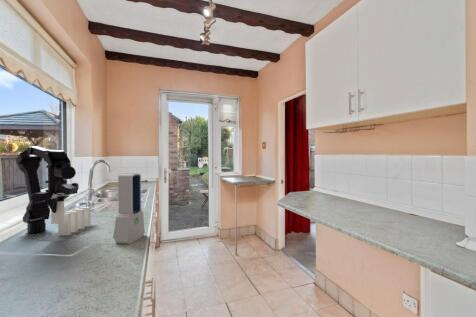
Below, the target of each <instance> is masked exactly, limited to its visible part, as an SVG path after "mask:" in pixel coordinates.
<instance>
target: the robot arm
mask: <svg viewBox="0 0 476 317" xmlns="http://www.w3.org/2000/svg"><path fill="white" fill-rule="evenodd" d="M42 161H44V162H45V163H46V164H47V165H46V166H45V168H46V169H47V180H45V182H44V183H45V184H47V189H45V191H42V190H41V186H40V180H39V176H38V175H39V174H38V170H39V168H40V166H41V162H42ZM15 163H16V164H17V166H18V170H20V171H21V172H22V173H23V174H24V179H25V185H26V189H27V195H28V196H27V197H28V200H29V201H28V202H29V203H27V205H26V211H25V213H24V215H23V217H22V222H23V223H25V224H27V232H26V233H24V235H39V234H42V233H44V232H45V233H46V232H47V231H48V229H46V228H47V227H46V225H47V224H46V220H49V218H50V216H51V210H52V212H53V213H56V210H57V201H64V202H65V200H66V199H67V198H69V197H70V195H75V194H78V191H79V183H78V182H72V183H68V181H67V180H71V179H73V178H74V177H75V176H76V174H77V172H76V169H75V168H74V167H73V166H72V165H71V164H72V163H71V160H70V158H69V157H68V154H67V153H66V151H65V150H52V149H49V148H48V149H47V148H45V147H41V146H28V147H27V148H26V150H23V151H21V152H20V153H19V154H17V156H16V160H15Z"/></svg>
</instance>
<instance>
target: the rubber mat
mask: <svg viewBox="0 0 476 317" xmlns="http://www.w3.org/2000/svg"><path fill="white" fill-rule="evenodd" d="M98 226H99V225H98V224H97V225H96V224H91V226H89V227H85V229H78V232H71V235H58V232H55V233H53V234H51V235H48V236H45V237H43V238H40V239H38V240H36V242H48V243H49V242H50V243H51V242H52V243H56V242H57V243H62V242H64V241H66V240H69V239H71V238H73V237H75V236H78V235H80V234H83V233H85V232H87V231H89V230H91V229H93V228H94V229H95V227H98Z"/></svg>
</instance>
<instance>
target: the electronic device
mask: <svg viewBox="0 0 476 317" xmlns="http://www.w3.org/2000/svg"><path fill="white" fill-rule="evenodd" d="M117 177H118V180H117V181H118V182H117V184H118V185H117V186H118V189H117V190H118V193H117V194H118V196H117V197H118V213H117V215H116V217H115V221H114V222H115V223H114V229H113V235H112V238H113V240H114V242H116V244H123V245H130V244H132V243H134V242H136V241H137V240H140V239H141V238H142V237H144V234H145V219H144V218H145V217H144V211H143V210H142V174H140V173H121V174H119V175H118V176H117Z"/></svg>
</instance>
